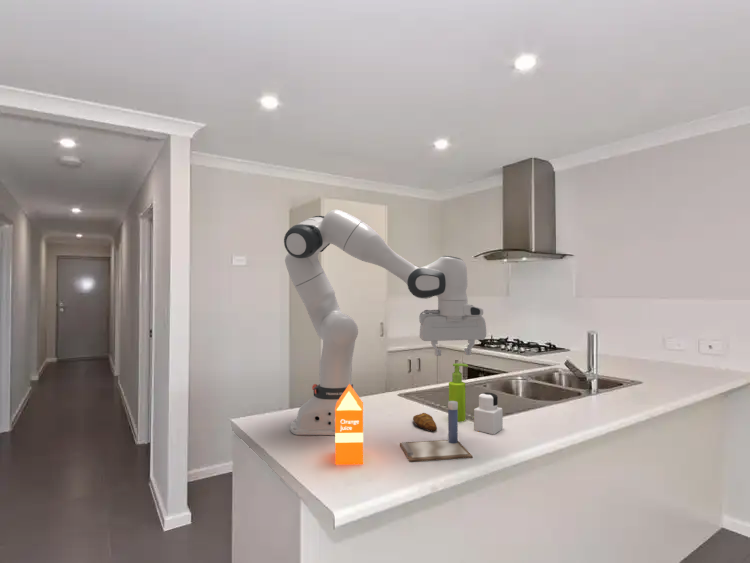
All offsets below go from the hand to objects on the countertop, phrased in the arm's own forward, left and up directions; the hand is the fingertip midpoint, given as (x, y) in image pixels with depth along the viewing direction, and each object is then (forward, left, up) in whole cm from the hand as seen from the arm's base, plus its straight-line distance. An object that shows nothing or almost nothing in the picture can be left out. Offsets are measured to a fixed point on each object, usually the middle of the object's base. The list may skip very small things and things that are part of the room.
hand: (452, 355), depth 132 cm
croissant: (-4, +18, -28) cm, 33 cm away
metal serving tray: (-7, -4, -27) cm, 28 cm away
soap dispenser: (+10, +23, -27) cm, 37 cm away
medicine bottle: (+16, +11, -27) cm, 34 cm away
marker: (0, 0, -26) cm, 26 cm away
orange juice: (-32, -5, -27) cm, 42 cm away
